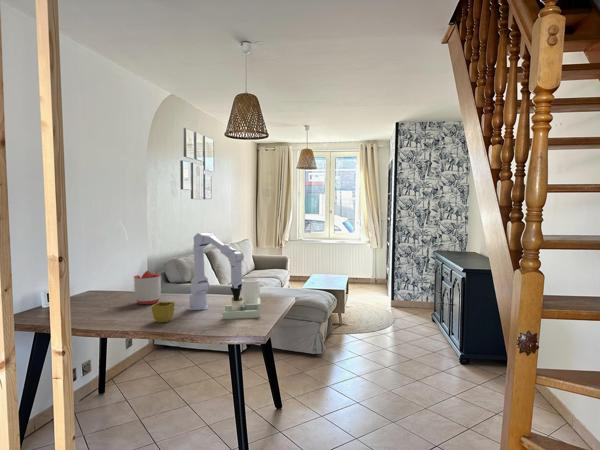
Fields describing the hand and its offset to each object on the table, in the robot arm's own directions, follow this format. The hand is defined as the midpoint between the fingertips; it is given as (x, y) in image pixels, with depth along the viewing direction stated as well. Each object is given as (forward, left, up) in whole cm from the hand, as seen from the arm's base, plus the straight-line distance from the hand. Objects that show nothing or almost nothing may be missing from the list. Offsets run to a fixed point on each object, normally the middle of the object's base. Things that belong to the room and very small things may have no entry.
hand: (236, 299), depth 214 cm
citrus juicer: (-57, +37, -9) cm, 69 cm away
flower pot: (-37, -7, -9) cm, 39 cm away
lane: (+2, 0, -8) cm, 9 cm away
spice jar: (0, 0, -8) cm, 9 cm away
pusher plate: (+4, 0, -8) cm, 9 cm away
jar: (+7, +21, -9) cm, 24 cm away
